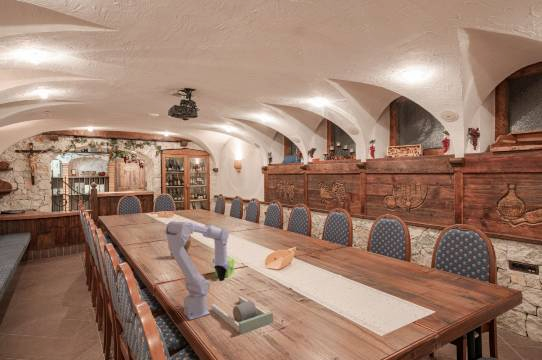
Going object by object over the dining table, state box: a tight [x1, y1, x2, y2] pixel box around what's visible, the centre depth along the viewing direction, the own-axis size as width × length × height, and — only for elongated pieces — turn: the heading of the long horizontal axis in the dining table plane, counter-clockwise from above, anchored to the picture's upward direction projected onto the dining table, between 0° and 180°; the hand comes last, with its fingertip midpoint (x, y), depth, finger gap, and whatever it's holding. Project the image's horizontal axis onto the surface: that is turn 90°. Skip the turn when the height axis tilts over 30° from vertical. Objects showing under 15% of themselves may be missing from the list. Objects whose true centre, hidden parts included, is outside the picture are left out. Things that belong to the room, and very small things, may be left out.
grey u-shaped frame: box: [211, 295, 274, 335], centre depth 136 cm, size 15×27×4 cm, turn 36°
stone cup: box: [170, 237, 192, 257], centre depth 234 cm, size 15×12×15 cm
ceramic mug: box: [232, 300, 258, 323], centre depth 130 cm, size 11×8×8 cm
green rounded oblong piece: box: [214, 256, 235, 279], centre depth 191 cm, size 18×10×10 cm, turn 167°
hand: (221, 280), depth 151 cm, fingers closed
